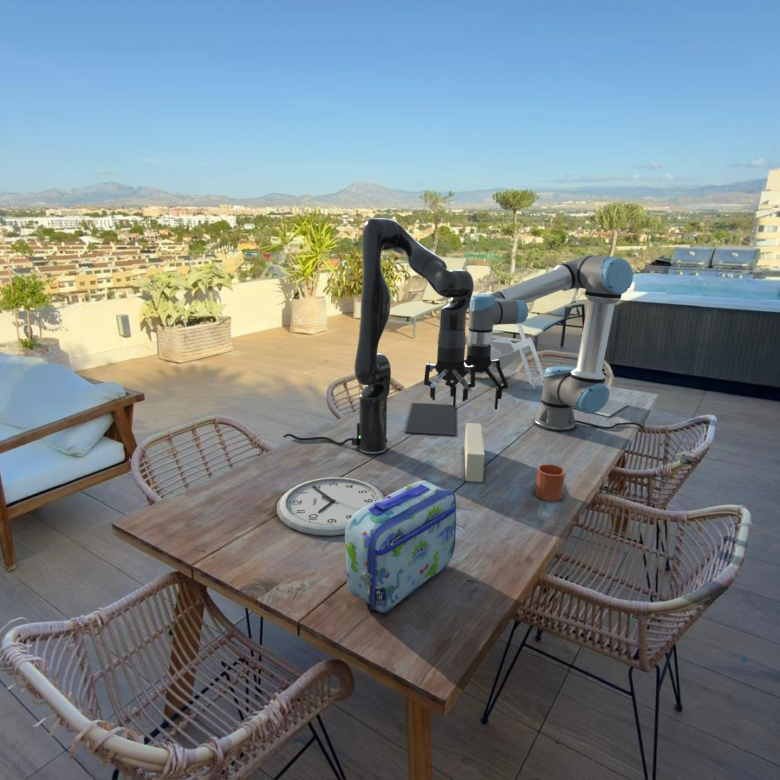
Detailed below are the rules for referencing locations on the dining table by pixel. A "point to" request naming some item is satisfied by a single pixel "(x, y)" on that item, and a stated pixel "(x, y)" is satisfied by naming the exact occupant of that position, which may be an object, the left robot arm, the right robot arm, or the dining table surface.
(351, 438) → the left robot arm
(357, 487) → the wall clock
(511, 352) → the white plastic object
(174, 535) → the dining table surface
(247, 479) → the dining table surface
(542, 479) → the terracotta pot
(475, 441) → the cream beam
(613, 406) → the invitation card
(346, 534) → the lunch box
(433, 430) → the dark rubber mat
